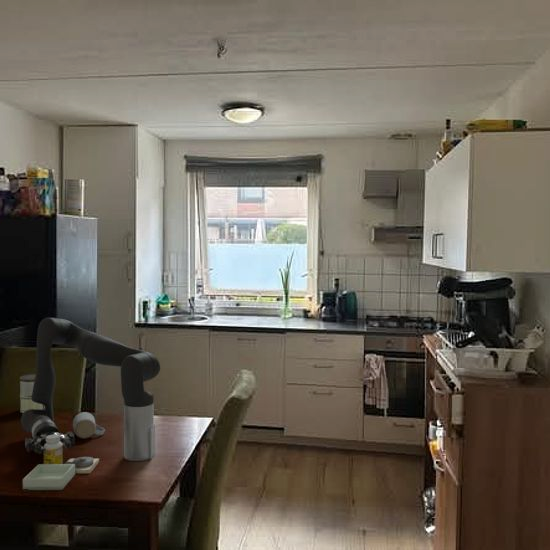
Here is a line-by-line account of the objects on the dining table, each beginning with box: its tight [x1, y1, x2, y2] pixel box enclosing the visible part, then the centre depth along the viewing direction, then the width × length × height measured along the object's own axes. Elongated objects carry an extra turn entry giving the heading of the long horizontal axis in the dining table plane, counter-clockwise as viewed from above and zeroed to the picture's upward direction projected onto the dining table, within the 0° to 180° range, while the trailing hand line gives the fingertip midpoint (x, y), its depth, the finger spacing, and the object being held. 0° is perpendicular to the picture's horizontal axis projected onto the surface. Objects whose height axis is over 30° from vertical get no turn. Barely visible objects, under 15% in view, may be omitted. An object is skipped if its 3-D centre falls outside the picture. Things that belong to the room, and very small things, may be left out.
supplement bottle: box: [43, 434, 64, 464], centre depth 165 cm, size 5×5×10 cm
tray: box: [22, 463, 76, 491], centre depth 155 cm, size 11×11×3 cm
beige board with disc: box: [64, 456, 100, 474], centre depth 166 cm, size 9×9×3 cm
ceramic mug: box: [72, 411, 106, 439], centre depth 195 cm, size 11×8×8 cm
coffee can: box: [19, 373, 45, 414], centre depth 225 cm, size 10×10×14 cm
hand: (54, 448), depth 163 cm, fingers open, 7 cm apart
